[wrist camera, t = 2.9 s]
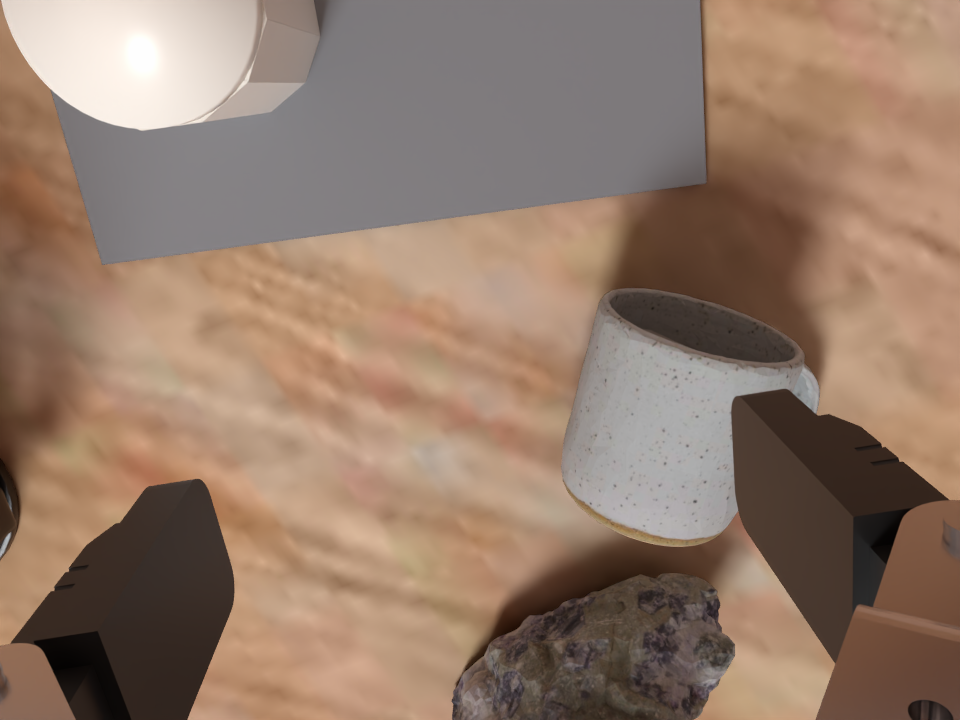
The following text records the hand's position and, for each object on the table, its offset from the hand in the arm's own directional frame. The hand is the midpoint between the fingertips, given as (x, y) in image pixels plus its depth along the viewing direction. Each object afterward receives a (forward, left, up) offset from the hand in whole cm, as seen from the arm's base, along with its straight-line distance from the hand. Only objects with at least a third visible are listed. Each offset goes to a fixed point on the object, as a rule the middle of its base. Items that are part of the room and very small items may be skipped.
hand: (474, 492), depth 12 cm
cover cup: (+8, -9, -21) cm, 24 cm away
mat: (+3, -8, -21) cm, 22 cm away
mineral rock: (-3, +21, -21) cm, 30 cm away
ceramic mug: (-8, +7, -21) cm, 24 cm away
